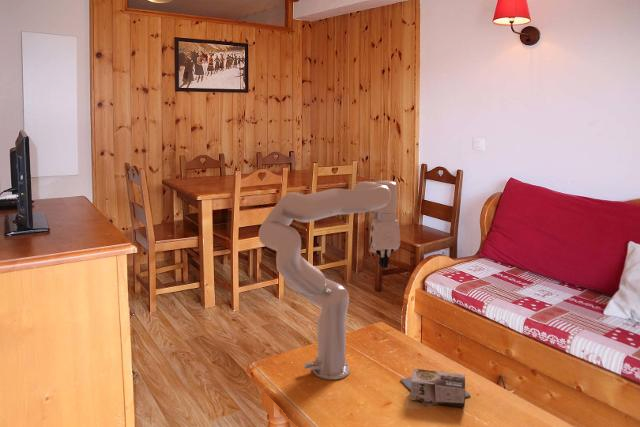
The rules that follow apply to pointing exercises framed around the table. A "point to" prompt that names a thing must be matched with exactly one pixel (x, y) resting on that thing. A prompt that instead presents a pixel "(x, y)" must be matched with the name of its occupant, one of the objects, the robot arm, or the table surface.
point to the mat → (408, 384)
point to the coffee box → (438, 387)
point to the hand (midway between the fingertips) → (383, 266)
